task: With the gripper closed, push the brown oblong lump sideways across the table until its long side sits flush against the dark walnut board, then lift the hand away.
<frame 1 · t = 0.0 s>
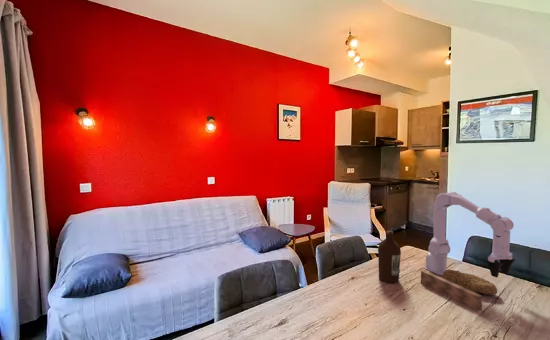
hand: (499, 274, 118), 10 cm above the table, tool pointing down, fingers open, 7 cm apart
walnut board: (448, 295, 121), on the table
brown oblong lump: (469, 289, 127), on the table
olive oil: (388, 279, 136), on the table
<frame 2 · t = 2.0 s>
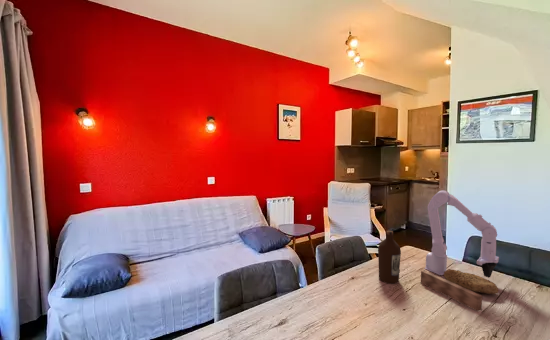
hand: (487, 276, 132), 3 cm above the table, tool pointing down, fingers closed
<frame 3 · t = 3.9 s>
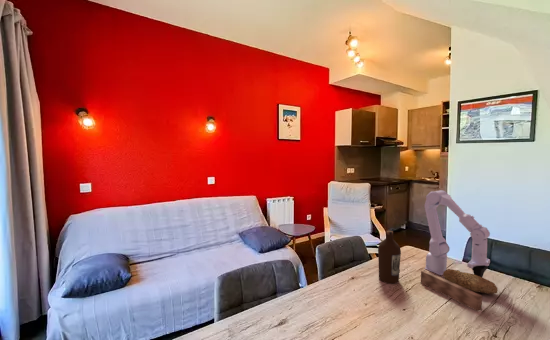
hand: (478, 279, 129), 3 cm above the table, tool pointing down, fingers closed
brown oblong lump: (469, 288, 127), on the table, touching gripper
everything else where it was.
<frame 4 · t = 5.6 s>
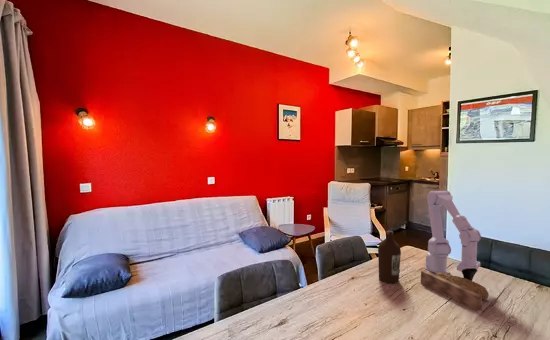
hand: (467, 282, 126), 3 cm above the table, tool pointing down, fingers closed
brown oblong lump: (460, 292, 123), on the table, touching gripper
everything else where it was.
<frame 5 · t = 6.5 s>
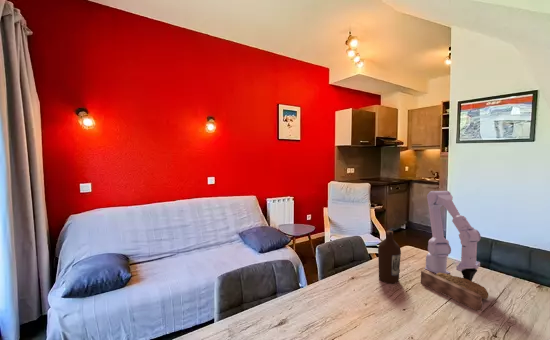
hand: (467, 282, 126), 3 cm above the table, tool pointing down, fingers closed
brown oblong lump: (460, 292, 123), on the table
everything else where it was.
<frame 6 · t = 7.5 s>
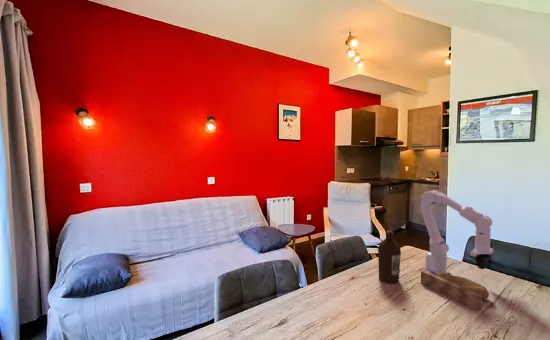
hand: (481, 268, 129), 8 cm above the table, tool pointing down, fingers closed
nothing on the table moved.
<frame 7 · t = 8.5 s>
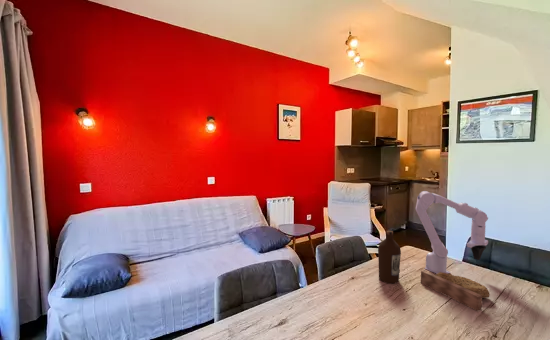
hand: (476, 259, 138), 9 cm above the table, tool pointing down, fingers closed
nothing on the table moved.
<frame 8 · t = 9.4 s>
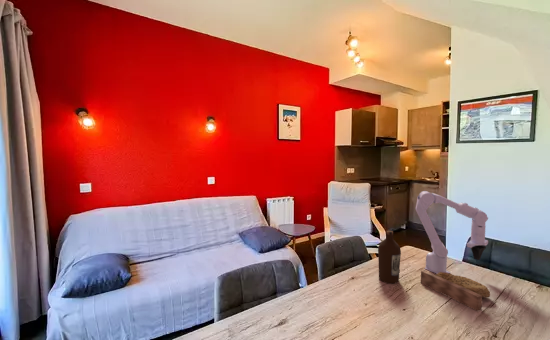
hand: (476, 259, 138), 9 cm above the table, tool pointing down, fingers closed
at the end: brown oblong lump 1.1 cm from the target spot on the table beside the walnut board, on the table; brown oblong lump tilted 2° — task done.
